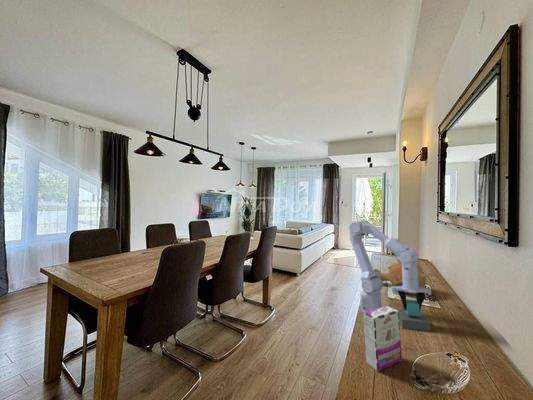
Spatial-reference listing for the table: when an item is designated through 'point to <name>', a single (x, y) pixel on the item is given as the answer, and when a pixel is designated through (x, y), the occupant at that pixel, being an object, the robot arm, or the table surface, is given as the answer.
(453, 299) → the table surface
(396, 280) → the jug
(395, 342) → the candy bar box
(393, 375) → the table surface
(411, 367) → the table surface
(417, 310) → the teal block
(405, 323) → the block
